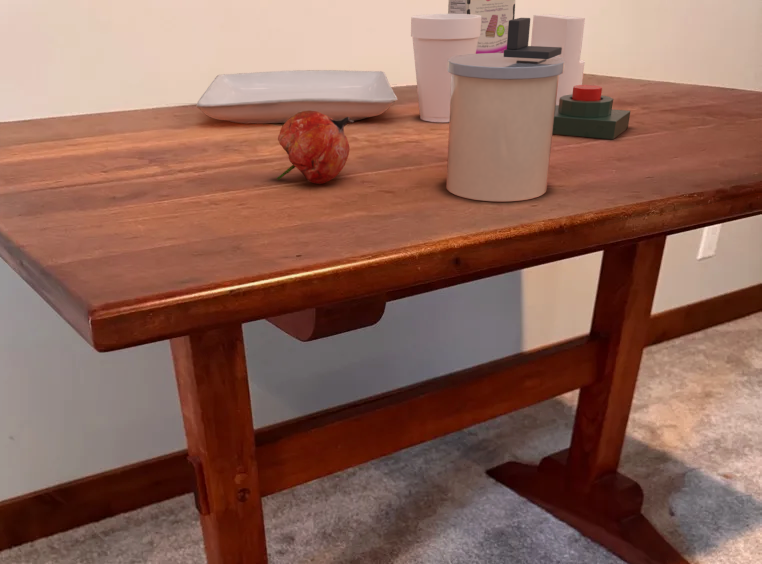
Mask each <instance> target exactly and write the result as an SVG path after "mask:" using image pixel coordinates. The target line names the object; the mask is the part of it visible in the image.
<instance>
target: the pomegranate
mask: <svg viewBox="0 0 762 564" xmlns="http://www.w3.org/2000/svg"><path fill="white" fill-rule="evenodd" d="M354 122H355V120H354V121H353V120H351V119H350V118H349V117H346V118H344V119H342V120H340V121H335V120H333V119H332V118H330V117H328V116H327V115H324V114H322V113H320V112H317V111H302V112H298V113H297V114H295V115H294V116H292V117H291V118H290V119H288V120H287V121H286V122H285V123H284V124H283V125H282V126H281V128H280V131H279V134H278V137H277V141H278V143H279V145H280V146H281V147H282V149H283V150H284V151H285V152H286V155H287V157H288V160H289V162H290V163H291V164H292V165H291V166H290V167H288V168H287V169H286V170H285V171H284V172H282V174H280V175H278V177H276V179H277V181H279V180H281V179H282V178H283V177H284V176H286V175H287V174H289V173H290V172H291V171H292V170H294V169H297V170H298V171H299V172H301V174H302V175H303V176H304V177H305V179H306V180H307V181H308V182H310V183H311V184H318V185H323V184H326V183H328V182H329V181H332V180H333V179H335V178H336V177H337V176H338V175H339V174H340V172H341V171H342V170H343V168H344V167H345V166H346V164H347V161H348V158H349V155H350V151H351V150H350V143H349V140H348V137H347V136H346V135H345V131H344V130H345V129H344V128H345V126H347V125H348V124H353V123H354Z"/></svg>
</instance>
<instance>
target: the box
mask: <svg viewBox="0 0 762 564" xmlns="http://www.w3.org/2000/svg"><path fill="white" fill-rule="evenodd" d="M613 103H614V98H613V97H611V96H607V95H602V94H601V100H598V101H579V100H573V99H572V95H564V96H562V97H560V100H559V105H556V107H555V116H554V125H553V134H552V135H557V136H558V135H560V136H570V137H578V138H579V137H580V138H591V139H602V140H612V141H613V140H615V139H617V137H619V136H621V134H622V133H624V132H625V131H626V130H627V129H628V128H629V124H630V117H631V110H624V109H613Z"/></svg>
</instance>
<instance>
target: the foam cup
mask: <svg viewBox="0 0 762 564" xmlns="http://www.w3.org/2000/svg"><path fill="white" fill-rule="evenodd" d="M480 32H481V16H480V15H472V14H448V13H427V14H416V15H412V16H411V17H410V37H412V48H413V58H414V67H415V78H416V80H415V81H416V89H417V97H418V98H417V100H418V109H419V115H420V116H419V117H420V120H422V121H425V122H431V123H449V116H450V94H451V73H449V72H448V70H447V66H448V59H449V58H452V57H455V56H460V55H468V54H476V49H477V43H478V37H480Z"/></svg>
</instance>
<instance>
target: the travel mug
mask: <svg viewBox="0 0 762 564" xmlns="http://www.w3.org/2000/svg"><path fill="white" fill-rule="evenodd" d="M564 64H565V61H564V60H563V59H562V58H559V57H552V58H550V59H533V58H514V57H504V53H481V54H468V55H460V56H455V57H452V58H449V59H448V66H447V70H448V72H449V73H451V94H450V116H449V122H448V140H447V141H448V143H447V163H446V166H447V167H446V186H445V187H446V190H447V191H448V192H449V193H451V194H452V195H455V196H457V197H460V198H464V199H469V200H474V201H481V202H494V203H495V202H497V203H499V202H500V203H505V202H506V203H508V202H521V201H528V200H532V199H537V198H539V197H541V196H543V195H545V193H546V192H547V189H548V182H549V181H548V180H549V171H550V161H551V152H552V145H553V142H552V141H553V135H554V134H553V125H554V116H555V107H556V97H557V88H558V79H559V75H560V74H562V73H563V72H564Z"/></svg>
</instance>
